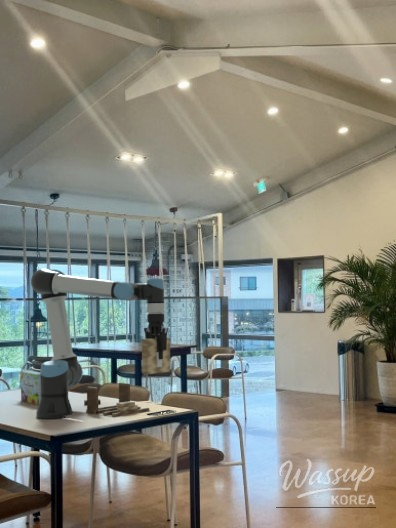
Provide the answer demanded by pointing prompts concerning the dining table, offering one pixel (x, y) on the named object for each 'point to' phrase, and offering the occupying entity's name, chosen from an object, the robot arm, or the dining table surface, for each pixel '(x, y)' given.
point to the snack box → (31, 386)
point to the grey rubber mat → (160, 412)
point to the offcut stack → (126, 406)
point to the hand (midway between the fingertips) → (156, 366)
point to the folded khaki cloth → (154, 357)
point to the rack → (110, 410)
